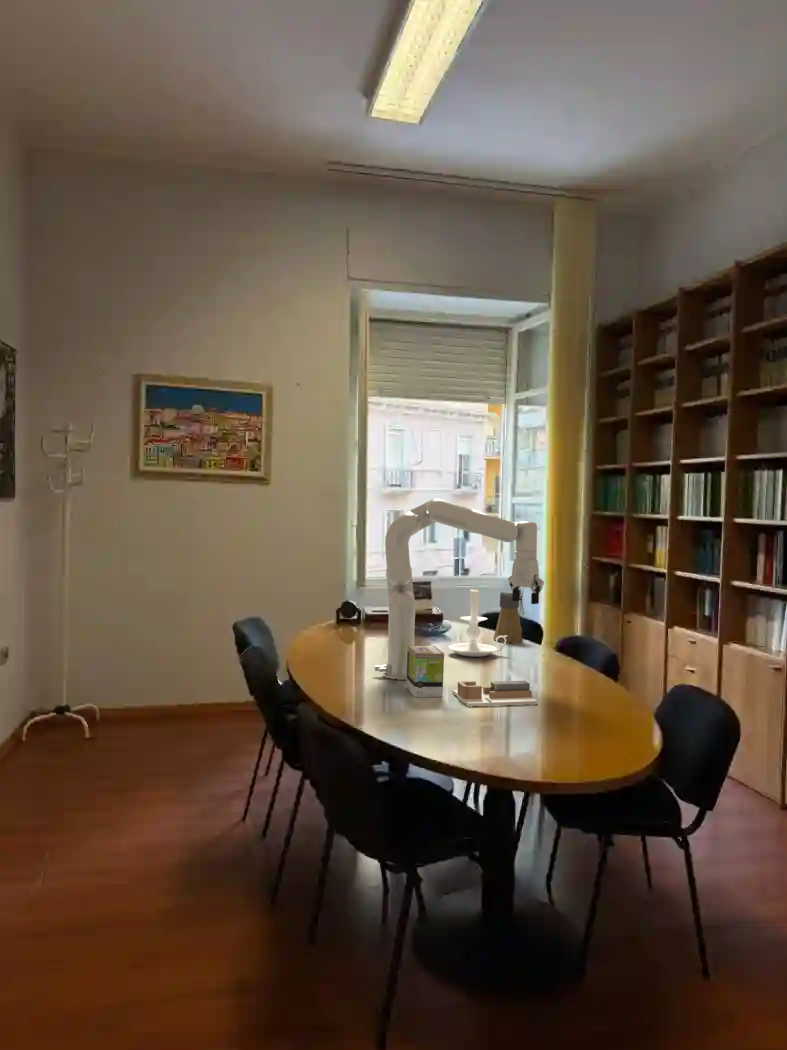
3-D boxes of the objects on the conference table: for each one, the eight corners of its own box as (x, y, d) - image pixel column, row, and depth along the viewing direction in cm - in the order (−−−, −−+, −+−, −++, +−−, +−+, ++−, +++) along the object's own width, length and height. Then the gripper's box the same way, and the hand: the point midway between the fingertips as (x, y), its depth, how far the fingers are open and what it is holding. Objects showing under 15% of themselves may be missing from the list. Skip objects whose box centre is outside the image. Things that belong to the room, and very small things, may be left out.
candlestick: (511, 660, 329) (513, 592, 328) (451, 659, 328) (452, 591, 327) (502, 651, 350) (504, 586, 349) (445, 650, 349) (447, 585, 348)
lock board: (468, 707, 254) (468, 690, 254) (452, 693, 271) (452, 677, 271) (537, 704, 258) (537, 688, 258) (517, 691, 276) (517, 676, 276)
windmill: (520, 645, 364) (522, 579, 363) (489, 643, 368) (491, 577, 367) (526, 637, 384) (528, 574, 383) (496, 635, 388) (498, 573, 387)
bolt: (494, 696, 263) (494, 684, 263) (490, 693, 267) (490, 681, 267) (529, 695, 265) (529, 683, 265) (524, 692, 269) (525, 680, 269)
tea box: (443, 697, 266) (444, 652, 265) (413, 698, 264) (414, 653, 264) (434, 686, 281) (435, 644, 280) (405, 687, 279) (406, 644, 279)
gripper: (502, 554, 299) (501, 600, 300) (535, 557, 285) (535, 605, 286) (517, 553, 303) (516, 599, 304) (550, 556, 289) (550, 604, 290)
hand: (525, 602), depth 295 cm, fingers open, 9 cm apart
